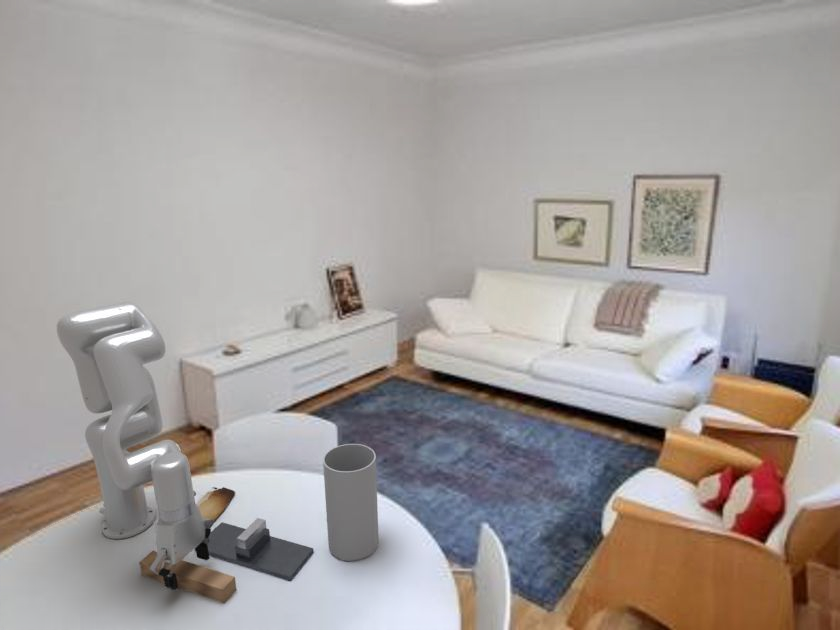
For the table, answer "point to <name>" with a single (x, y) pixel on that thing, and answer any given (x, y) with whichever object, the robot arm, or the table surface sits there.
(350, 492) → the cylinder vase
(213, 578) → the walnut bar
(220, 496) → the parchment
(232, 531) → the stand
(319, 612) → the table surface
